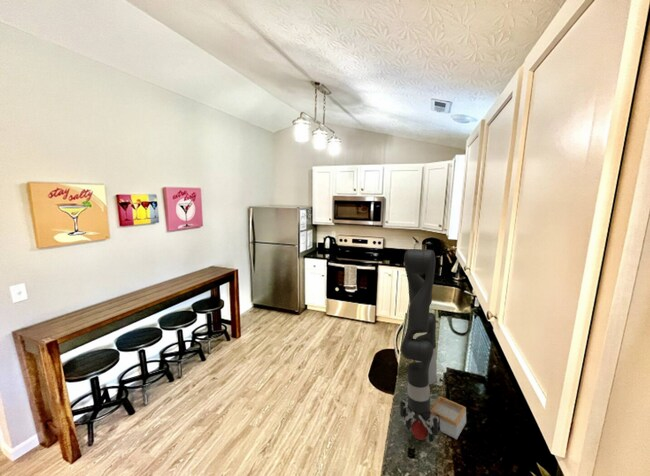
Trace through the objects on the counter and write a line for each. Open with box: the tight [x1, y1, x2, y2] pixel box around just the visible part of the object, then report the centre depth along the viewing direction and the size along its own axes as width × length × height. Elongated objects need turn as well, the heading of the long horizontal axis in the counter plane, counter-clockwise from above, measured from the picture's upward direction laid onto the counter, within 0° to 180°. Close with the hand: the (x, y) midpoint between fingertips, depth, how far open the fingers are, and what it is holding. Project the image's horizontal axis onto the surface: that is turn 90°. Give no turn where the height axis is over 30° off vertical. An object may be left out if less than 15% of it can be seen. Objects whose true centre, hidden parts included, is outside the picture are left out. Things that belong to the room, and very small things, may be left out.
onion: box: [410, 419, 429, 441], centre depth 100 cm, size 6×6×8 cm
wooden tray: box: [430, 395, 467, 440], centre depth 106 cm, size 13×10×6 cm
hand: (419, 434), depth 100 cm, fingers open, 8 cm apart
